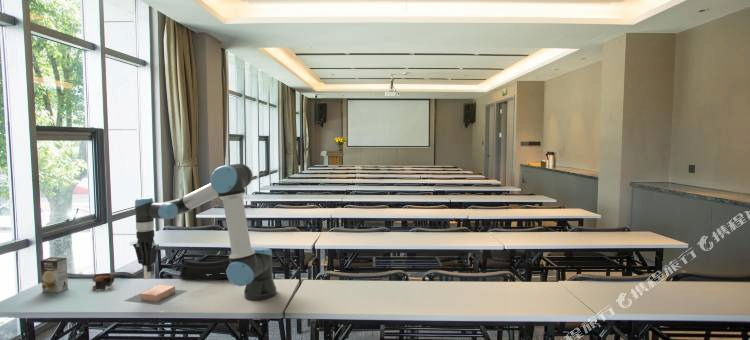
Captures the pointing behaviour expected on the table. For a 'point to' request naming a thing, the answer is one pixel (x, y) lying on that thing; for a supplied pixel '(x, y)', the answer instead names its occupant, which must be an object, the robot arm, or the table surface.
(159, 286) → the board
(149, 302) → the mat
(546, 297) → the table surface
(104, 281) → the pottery mug
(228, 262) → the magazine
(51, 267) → the coffee box
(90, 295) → the table surface
